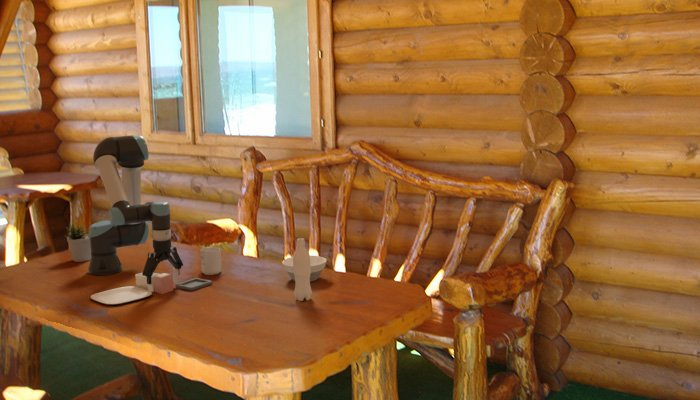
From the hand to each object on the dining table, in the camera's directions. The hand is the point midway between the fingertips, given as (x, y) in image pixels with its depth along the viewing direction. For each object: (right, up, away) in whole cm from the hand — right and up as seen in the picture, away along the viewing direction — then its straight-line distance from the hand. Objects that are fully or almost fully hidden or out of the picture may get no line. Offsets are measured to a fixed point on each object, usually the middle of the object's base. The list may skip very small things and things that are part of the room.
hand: (163, 287), depth 348 cm
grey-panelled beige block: (-7, -1, +6) cm, 10 cm away
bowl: (+59, +2, +12) cm, 61 cm away
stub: (0, -2, +1) cm, 2 cm away
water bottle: (+60, -3, -18) cm, 63 cm away
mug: (+15, +4, +29) cm, 33 cm away
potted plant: (-55, +7, +61) cm, 83 cm away
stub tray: (+12, 0, +7) cm, 13 cm away
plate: (-16, -4, -6) cm, 18 cm away
